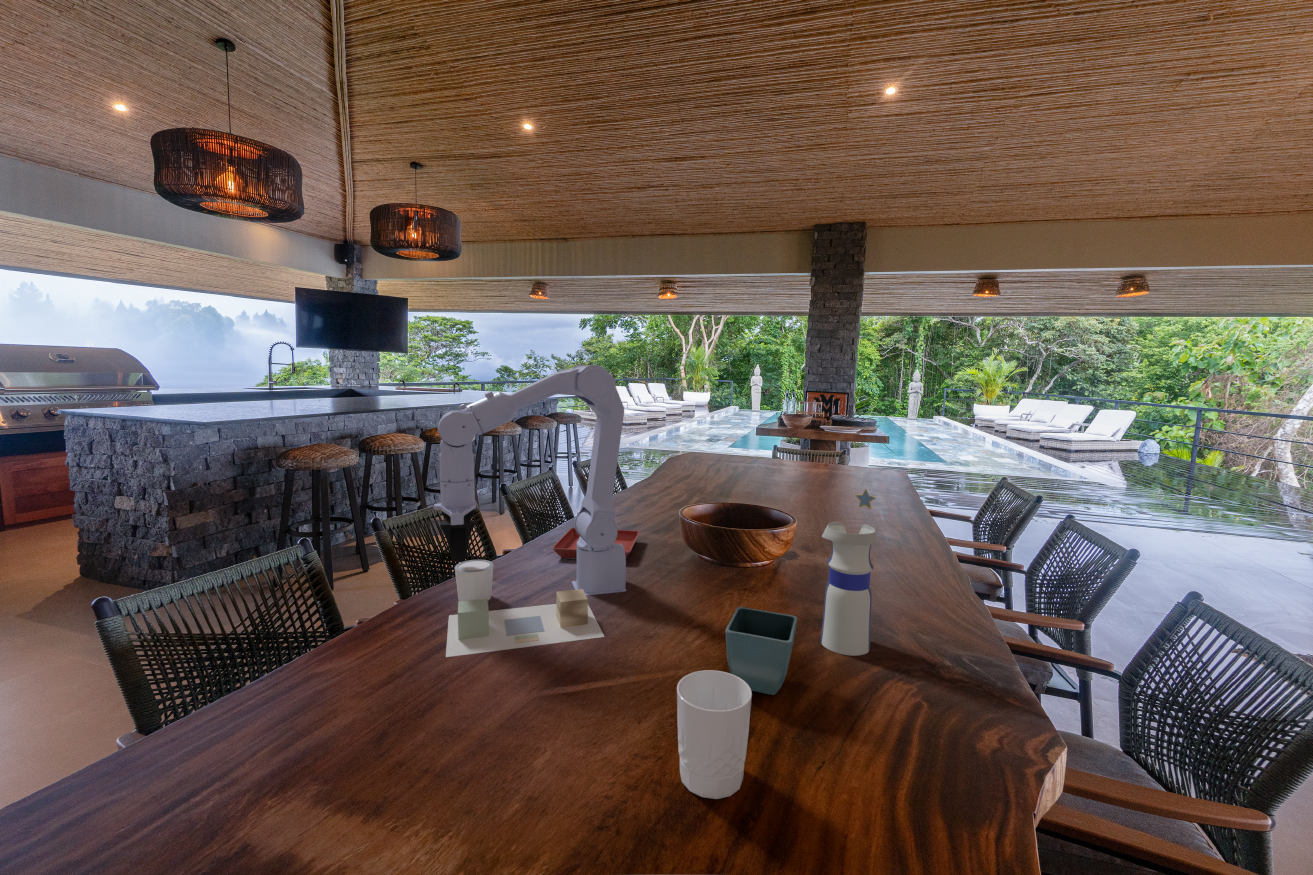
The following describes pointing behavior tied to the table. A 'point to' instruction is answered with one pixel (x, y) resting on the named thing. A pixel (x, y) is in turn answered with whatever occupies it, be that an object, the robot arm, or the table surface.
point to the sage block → (473, 619)
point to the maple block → (571, 608)
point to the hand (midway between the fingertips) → (459, 553)
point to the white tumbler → (474, 579)
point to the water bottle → (848, 588)
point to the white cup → (712, 732)
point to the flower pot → (760, 647)
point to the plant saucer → (569, 541)
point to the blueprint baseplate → (520, 631)
